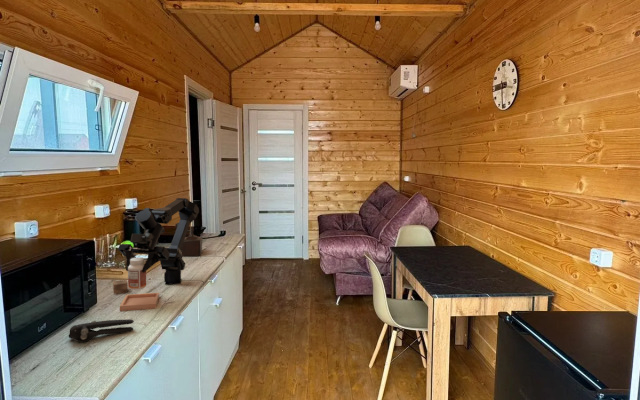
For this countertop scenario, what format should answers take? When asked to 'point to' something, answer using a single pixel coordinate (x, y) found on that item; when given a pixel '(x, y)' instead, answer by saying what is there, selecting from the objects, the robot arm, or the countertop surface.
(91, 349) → the countertop surface
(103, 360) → the countertop surface
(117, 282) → the walnut block
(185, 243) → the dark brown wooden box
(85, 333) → the can opener
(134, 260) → the pill bottle
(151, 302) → the tray
